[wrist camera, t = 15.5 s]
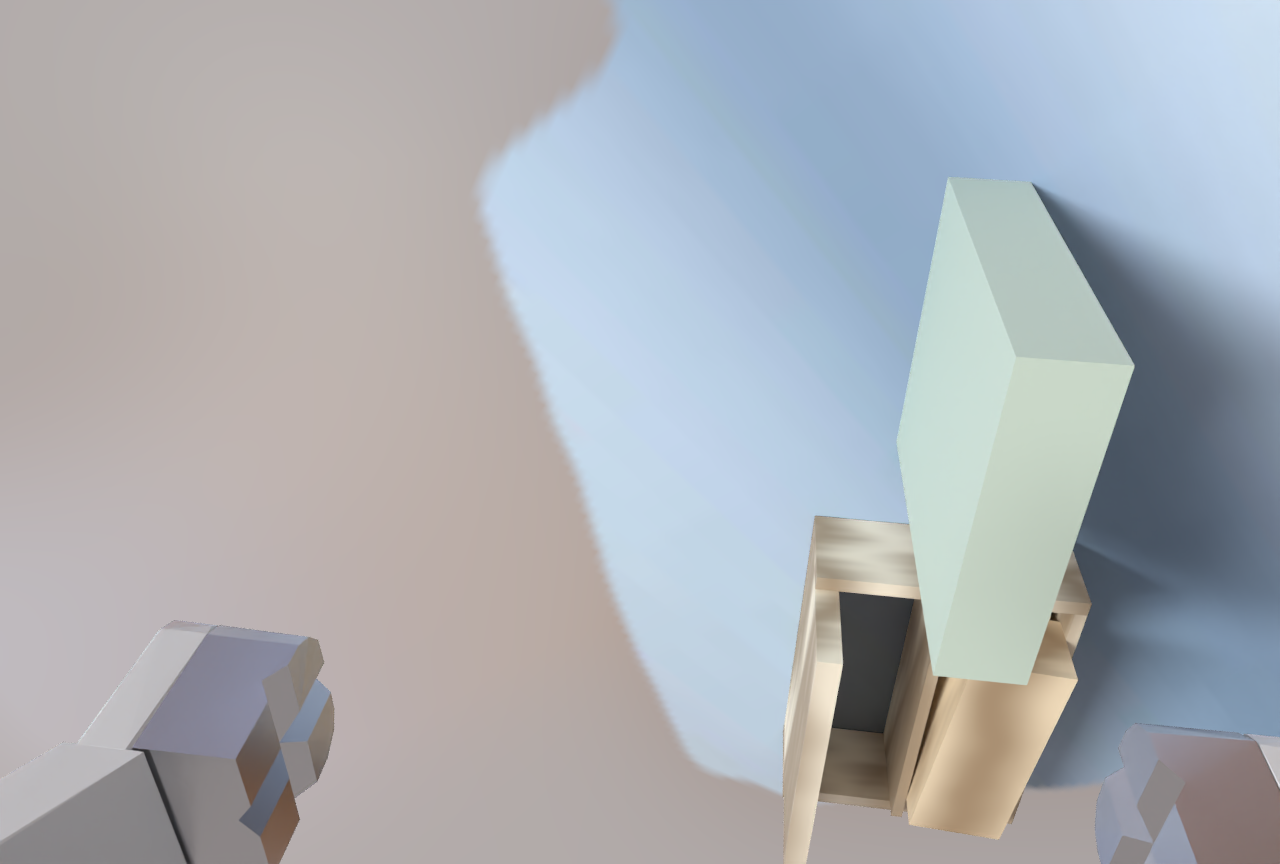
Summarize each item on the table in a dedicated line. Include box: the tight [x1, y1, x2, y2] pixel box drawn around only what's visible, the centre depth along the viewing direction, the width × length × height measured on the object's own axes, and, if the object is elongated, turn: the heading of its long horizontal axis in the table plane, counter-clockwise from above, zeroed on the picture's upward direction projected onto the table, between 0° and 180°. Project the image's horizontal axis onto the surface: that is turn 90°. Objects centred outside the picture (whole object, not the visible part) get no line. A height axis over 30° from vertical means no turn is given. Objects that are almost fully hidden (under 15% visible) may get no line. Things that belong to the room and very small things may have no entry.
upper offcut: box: [906, 620, 1078, 840], centre depth 55 cm, size 5×13×4 cm, turn 174°
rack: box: [783, 516, 1092, 864], centre depth 55 cm, size 13×18×10 cm
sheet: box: [897, 177, 1135, 685], centre depth 41 cm, size 4×14×16 cm, turn 179°
